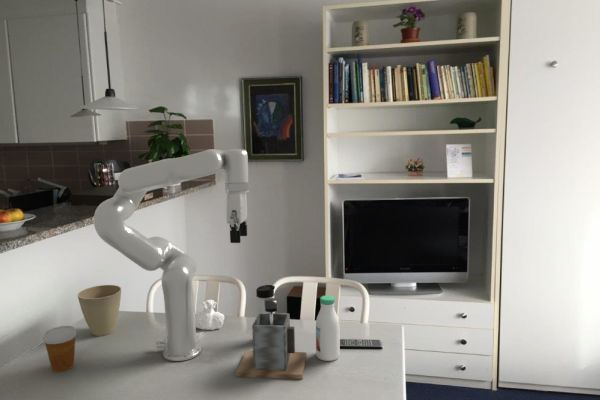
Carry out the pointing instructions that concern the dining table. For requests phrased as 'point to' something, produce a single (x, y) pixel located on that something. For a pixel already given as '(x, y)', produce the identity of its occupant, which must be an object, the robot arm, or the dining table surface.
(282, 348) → the stand
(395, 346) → the dining table surface
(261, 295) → the travel mug
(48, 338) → the disposable coffee cup
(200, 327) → the bust
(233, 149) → the robot arm
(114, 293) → the plant pot
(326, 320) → the milk bottle
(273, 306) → the knob on square base
